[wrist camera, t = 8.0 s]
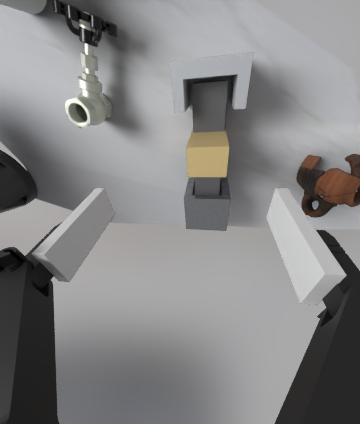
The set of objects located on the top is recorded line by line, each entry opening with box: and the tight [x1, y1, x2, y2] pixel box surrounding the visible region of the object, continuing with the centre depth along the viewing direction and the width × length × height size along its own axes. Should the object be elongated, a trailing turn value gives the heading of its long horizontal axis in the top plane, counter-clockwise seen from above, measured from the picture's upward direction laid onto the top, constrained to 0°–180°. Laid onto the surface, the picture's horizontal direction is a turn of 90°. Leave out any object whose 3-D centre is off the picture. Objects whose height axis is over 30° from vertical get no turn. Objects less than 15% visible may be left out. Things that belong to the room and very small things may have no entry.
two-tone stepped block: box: [186, 80, 229, 196], centre depth 24 cm, size 4×17×10 cm, turn 5°
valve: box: [52, 0, 117, 128], centre depth 23 cm, size 7×7×12 cm
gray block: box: [184, 178, 230, 231], centre depth 32 cm, size 7×7×7 cm
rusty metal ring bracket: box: [297, 154, 360, 217], centre depth 28 cm, size 12×10×8 cm
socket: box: [170, 52, 254, 113], centre depth 21 cm, size 8×4×8 cm, turn 95°
